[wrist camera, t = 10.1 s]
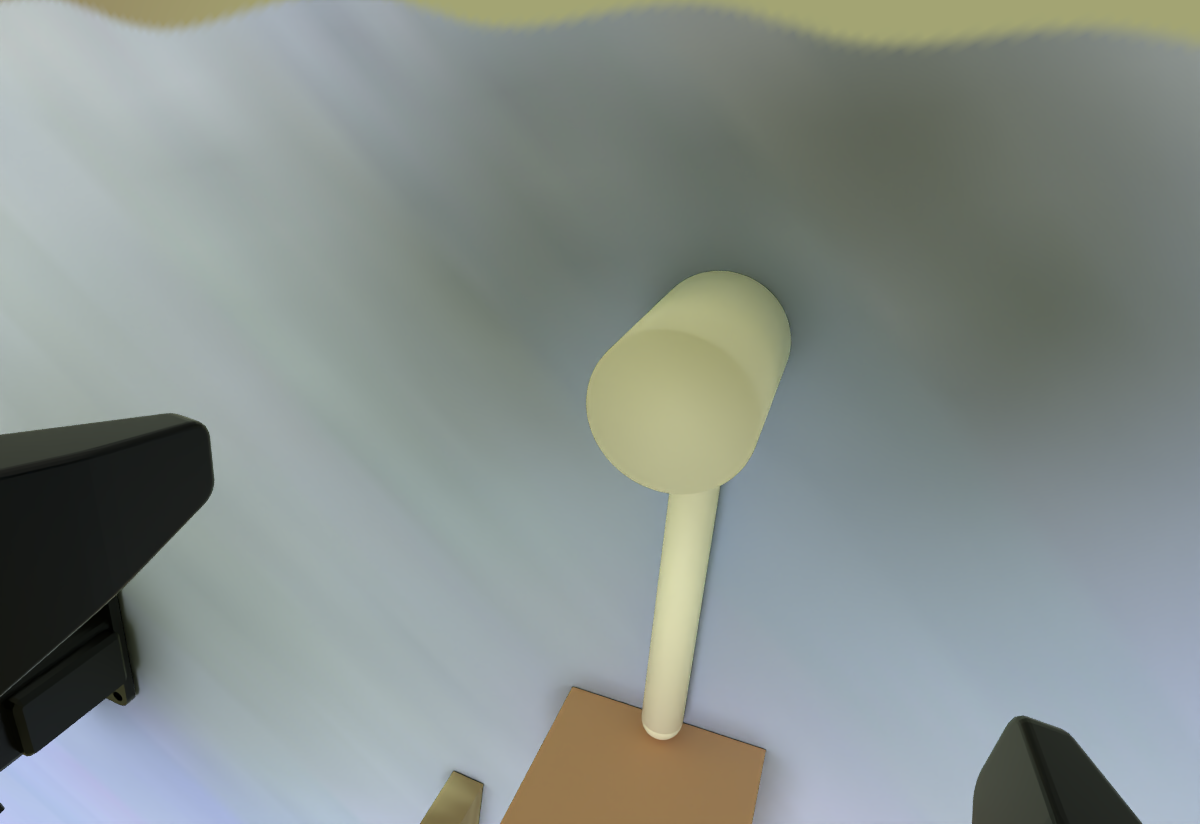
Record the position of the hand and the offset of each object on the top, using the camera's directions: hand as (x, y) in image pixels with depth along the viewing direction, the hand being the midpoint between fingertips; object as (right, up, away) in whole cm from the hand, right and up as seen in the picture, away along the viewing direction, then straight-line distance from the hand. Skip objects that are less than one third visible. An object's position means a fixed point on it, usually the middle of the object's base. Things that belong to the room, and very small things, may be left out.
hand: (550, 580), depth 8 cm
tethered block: (+3, -4, +13) cm, 14 cm away
